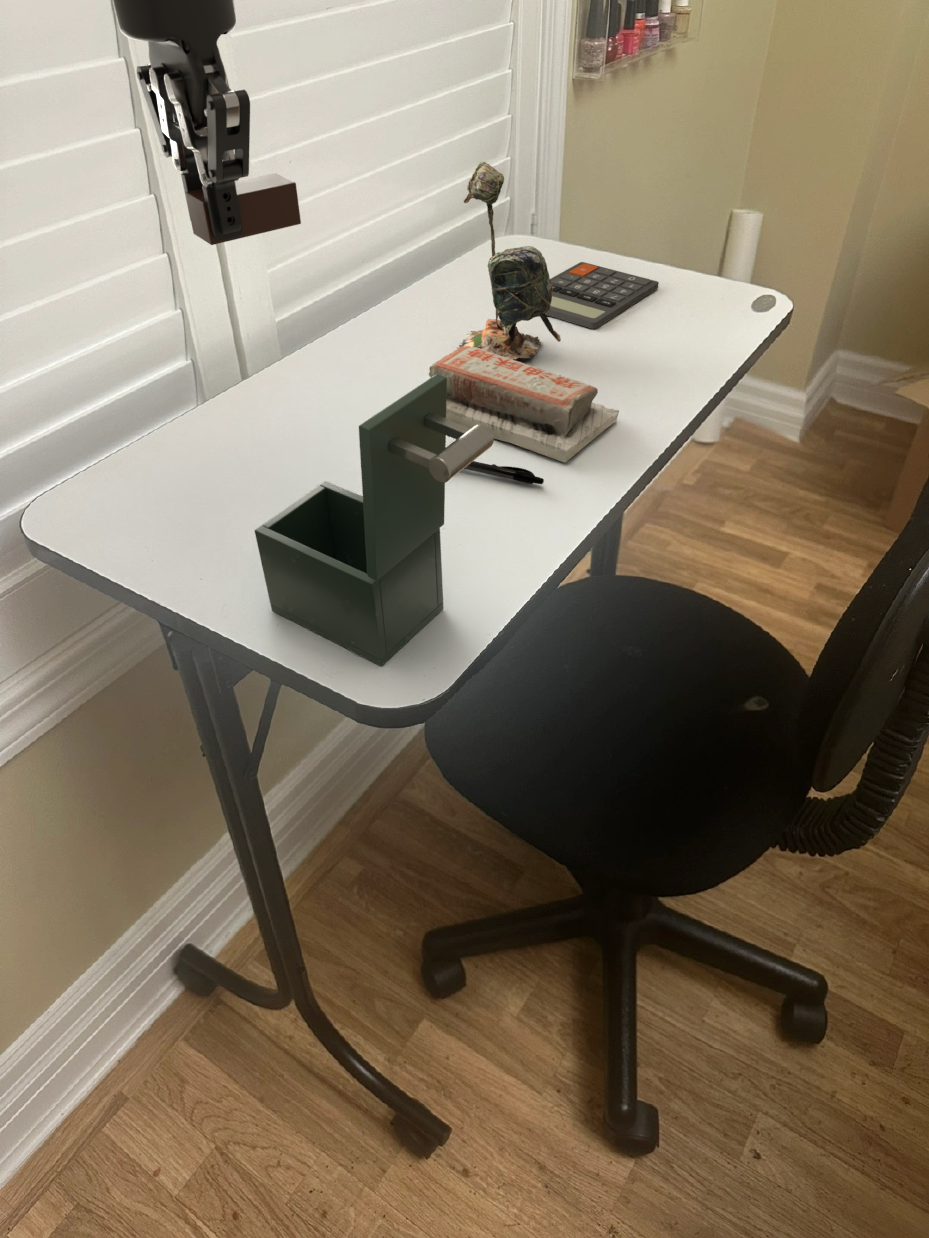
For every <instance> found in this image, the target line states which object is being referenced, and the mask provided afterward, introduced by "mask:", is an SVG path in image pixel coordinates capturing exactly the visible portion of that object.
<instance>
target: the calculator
mask: <svg viewBox="0 0 929 1238" xmlns="http://www.w3.org/2000/svg"><path fill="white" fill-rule="evenodd" d="M550 280H551V284H552V289H553V293H552V301H551V306H550V309H549V311H547V312H546V313H545V315H546V316H547V317H548V316H549V317H552V318H556V319H558V320H562V321H565V322H568V323H571V324H575V325H579V326H582V327H585V328H589V329H592V330H595V329H597V328H599V327H600V326H602V325H603V324H605V323H606V322H608V321H609V320H611V319H613V318H614V317H616V316H617V315H619V314H621V313H622V312H624V311H625V310H627V309H628V308H630V307H632V306H633V305H635V304H637V303H638V302H640V301H641V300H643V299H644V298H646V297H647V296H649V295H650V294H652V293H653V292H656V291H657V290H658V289H659V283H660V282H659V281H658V280H654V279H650V278H646V277H642V276H638V275H634V274H631V273H628V272H627V273H626V272H623V271H619V270H615V269H612V268H609V267H604V266H600V265H596V264H592V263H588V262H584V261H580V262H578V263H577V264H574V265H573V266H571V267H569V268H567V269H565V270H563V271H561V272H560V273H558V274H556V275H555V276H553V277H550Z"/></svg>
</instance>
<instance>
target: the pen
mask: <svg viewBox="0 0 929 1238" xmlns="http://www.w3.org/2000/svg"><path fill="white" fill-rule="evenodd" d="M463 470H467V471H472V472H476V473H480V474H485V475H488V476H494V477H497V478H502V479H507V480H511V481H515V482H518V483H522V484H527V485H534V484H536V485H543V484H544V482H545V479H544V478H543V477H541V476H536V475H535V474H534V473H533V472H532V471H531V470H529V469H526V468H522V467H516V466H508V465H507V466H506V465H496V464H495V463H492V464H489V463H484V462H479V461H476V460H474V461H473V462H471V463H470V464H469V465H468V466H466V467H465V468H464V469H463Z"/></svg>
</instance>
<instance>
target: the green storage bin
mask: <svg viewBox="0 0 929 1238" xmlns="http://www.w3.org/2000/svg"><path fill="white" fill-rule="evenodd" d="M254 535H255V540H256V545H257V549H258V554H259V558H260V562H261V566H262V567H261V568H262V572H263V577H264V581H265V586H266V590H267V595H268V601H269V603H270V608H271V611H272V612H274V613H276V614H277V615H280V616H282V617H283V618H285V619H287V620H288V621H289V620H290V621H292V622H293V623H295V624H297V625H299V626H301V627H303V628H305V629H307V630H308V631H311V632H312V633H315V634H317V635H318V636H321V637H323V638H325V639H327V640H329V641H331V642H332V643H334V644H336V645H338V646H340V647H342V648H345V649H346V650H348V651H350V652H352V653H354V654H356V655H358V656H359V657H362V658H364V659H365V660H368V661H370V662H372V663H374V664H376V665H378V666H380V667H383V666H384V665H385V664H386V663H387V662H388V661H390V659H391V658H393V656H394V655H396V654H397V653H398V652H399V651H400V650H401V649H402V648H403V647H404V646H405V645H407V644H408V643H409V642H410V641H411V640H412V639H413V638H415V636H416V635H417V634H418V633H419V632H420V631H421V630H423V629H424V628H425V626H427V625H428V624H429V623H430V622H431V621H432V620H433V619H435V617H436V616H437V615H439V613H441V612H442V611H443V610H444V592H443V591H444V589H443V588H444V586H443V567H442V566H443V565H442V563H443V562H442V549H441V548H442V543H441V542H442V541H441V527H440V528H439V529H438V530H437V531H436V532H434V533H433V534H432V535H431V536H430V537H428V538H427V539H426V540H425V541H424V542H422V543H421V544H420V545H419V546H418V547H416V548H415V549H414V550H413V551H412V552H410V553H409V554H408V555H407V556H406V557H405V558H403V559H402V560H401V561H400V562H399V563H397V564H396V565H395V566H394V567H393V568H391V569H390V570H389V571H388V572H387V573H385V574H384V575H383V576H382V577H381V578H379V579H378V580H377V581H375V580H373V579H371V578H369V577H368V576H367V560H366V543H365V526H364V509H363V495H361V494H358V493H356V492H354V491H352V490H348V489H346V488H344V487H341V486H338V485H337V484H334V483H332V482H329V481H327V480H324V481H323V482H321V483H320V484H319V485H317V486H316V487H314V488H313V489H311V490H310V491H309V492H307V493H306V494H305V495H303V496H302V497H300V498H298V499H297V500H296V501H294V502H292V504H290V505H288V506H287V507H285V509H283V510H281V511H280V512H278V513H277V514H276V515H274V516H273V517H271V518H270V519H268V520H267V521H265V522H264V523H263V524H261V525H259V526H258V527H256V528H255V529H254Z"/></svg>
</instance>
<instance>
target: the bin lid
mask: <svg viewBox="0 0 929 1238" xmlns="http://www.w3.org/2000/svg"><path fill="white" fill-rule="evenodd" d="M446 399H447V377H445V376H442V375H439V374H436V375H434V376H433V377H431V378H430V377H429V378H428V379H427V380H425V381H424V382H422V383H421V384H419V385H418V386H416V387H415V388H413V389H412V390H410V391H409V392H407V393H405V394H404V395H402V396H401V397H399V398H398V399H397V400H395V401H394V402H392V403H390V404H389V405H387V406H386V407H385V408H383V409H382V410H380V411H378V412H377V413H375V414H374V415H373V416H371V417H369V418H368V419H366V420H365V421H363V422H362V423H361V424H359V425H358V439H359V441H358V442H359V456H360V457H359V458H360V473H361V475H360V476H361V490H362V491H361V493H362V496H363V509H364V526H365V543H366V560H367V576H368V577H369V578H371V579H373V580H375V581H377V580H378V579H379V578H381V577H382V576H383V575H384V574H385V573H387V572H388V571H389V570H390V569H391V568H393V567H394V566H395V565H396V564H397V563H399V562H400V561H401V560H402V559H403V558H405V557H406V556H407V555H408V554H409V553H410V552H412V551H413V550H414V549H415V548H416V547H418V546H419V545H420V544H421V543H422V542H424V541H425V540H426V539H427V538H428V537H430V536H431V535H432V534H433V533H434V532H436V531H437V530H438V529H439V528H440V529H441V527H443V526H444V525H445V501H446V500H445V499H446V483H447V482H449V481H450V480H451V479H453V478H454V477H455V476H456V475H458V474H459V473H461V472H462V471H463V470H465V469H464V468H465V467H466V466H468V465H469V464H470V463H471V462H473V461H476V460H477V459H478V458H480V457H481V456H482V455H483V454H485V452H487V451H488V450H489V449H490V448H491V447H492V446H493V445H494V438H493V436H492V434H491V432H490V431H489V429H488V428H486V427H485V426H483V425H475V426H474V427H473V428H471V429H470V428H468V427H465V426H463V425H460V424H458V423H455V422H453V421H450V420H448V419H446ZM447 437H449V438H451V439H454V441H452V442H451V443H450V444H448V446H447Z"/></svg>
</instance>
